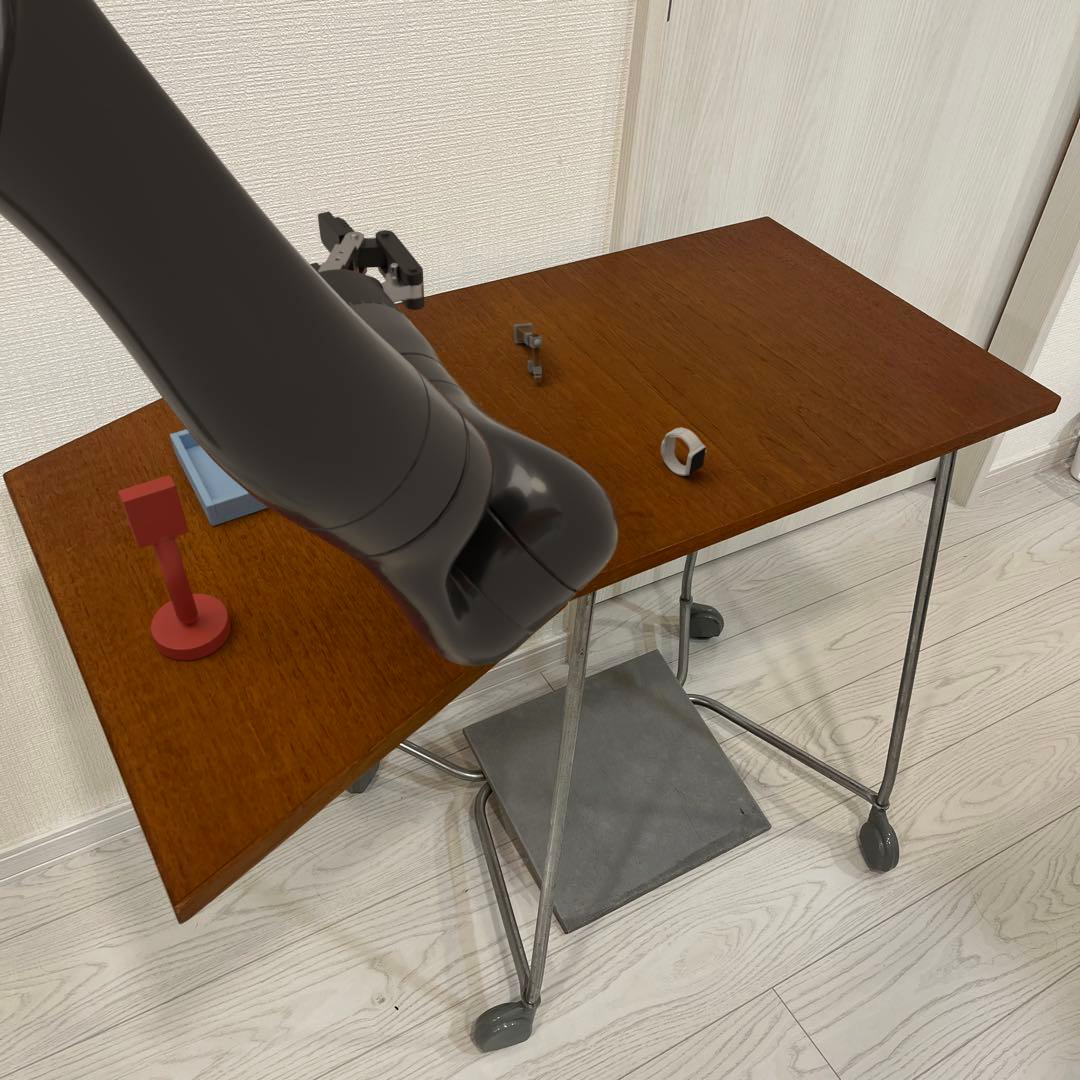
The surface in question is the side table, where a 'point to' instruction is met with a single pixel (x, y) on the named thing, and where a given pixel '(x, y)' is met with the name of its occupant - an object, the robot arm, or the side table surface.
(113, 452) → the side table surface
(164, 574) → the red sign on stand
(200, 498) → the tray
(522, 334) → the wooden post with brackets
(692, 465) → the smartwatch
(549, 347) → the side table surface
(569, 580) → the robot arm
